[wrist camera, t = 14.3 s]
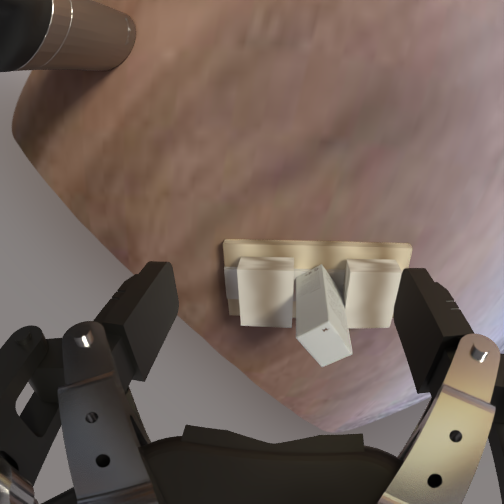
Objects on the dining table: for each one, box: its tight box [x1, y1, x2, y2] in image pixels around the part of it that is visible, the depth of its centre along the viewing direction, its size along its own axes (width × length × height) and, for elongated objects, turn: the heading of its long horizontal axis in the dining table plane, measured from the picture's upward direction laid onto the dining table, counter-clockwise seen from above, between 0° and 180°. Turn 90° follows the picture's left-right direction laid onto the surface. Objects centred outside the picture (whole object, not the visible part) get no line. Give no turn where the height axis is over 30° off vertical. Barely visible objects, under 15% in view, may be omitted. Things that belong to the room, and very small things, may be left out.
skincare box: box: [296, 264, 352, 367], centre depth 38 cm, size 6×4×12 cm
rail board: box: [223, 239, 412, 328], centre depth 42 cm, size 26×12×6 cm, turn 92°
